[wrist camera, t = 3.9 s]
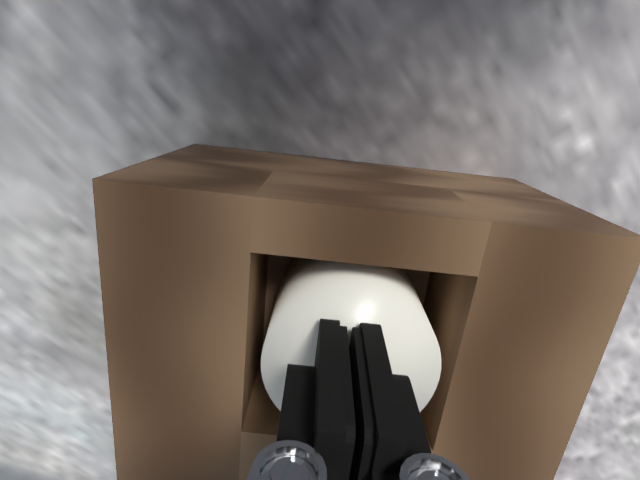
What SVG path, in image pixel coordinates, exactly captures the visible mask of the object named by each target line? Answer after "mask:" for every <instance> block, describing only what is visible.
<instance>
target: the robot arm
mask: <svg viewBox="0 0 640 480" xmlns="http://www.w3.org/2000/svg"><path fill="white" fill-rule="evenodd" d="M246 480H470V479H469V478H468V476H467V475H466V473H465V472H464V471H463V470H462V469H461V468H460V467H458V466H457V465H456V464H455V463H453V462H451V461H450V460H448V459H446V458H445V457H442V456H439V455H436V454H432V453H431V449H430V446H429V442H428V439H427V436H426V432H425V429H424V425H423V422H422V419H421V415H420V412H419V408H418V405H417V402H416V398H415V395H414V391H413V388H412V384H411V381H410V379H409V377H408V376H407V375H397V374H392V370H391V365H390V361H389V357H388V353H387V349H386V344H385V340H384V336H383V332H382V327H381V325H380V324H370V323H360V325H359V328H358V327H353V328H352V331H351V338H350V344H349V343H348V331H347V326H340V320H331V319H321V318H320V323H319V331H318V339H317V348H316V356H315V364H314V366H306V365H295V364H288V365H287V372H286V379H285V386H284V392H283V399H282V406H281V413H280V420H279V426H278V433H277V440H276V442H274V443H272V444H270V445H268V446H266V447H265V448H264V449H263V450H261V451H260V452H259V453H258V455H257V456H256V458H255V460H254V462H253V464H252V466H251V469H250V472H249V474H248V477H247V479H246Z"/></svg>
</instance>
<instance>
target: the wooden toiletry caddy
mask: <svg viewBox="0 0 640 480" xmlns="http://www.w3.org/2000/svg"><path fill="white" fill-rule="evenodd" d="M92 181H93V193H94V205H95V217H96V229H97V241H98V253H99V265H100V277H101V289H102V301H103V313H104V325H105V337H106V349H107V361H108V373H109V386H110V398H111V410H112V422H113V434H114V446H115V458H116V470H117V480H246V479H247V477H248V474H249V472H250V469H251V466H252V464H253V462H254V460H255V458H256V456H257V455H258V453H259V452H260V451H261V450H263V449H264V448H265V447H266V446H268V445H270V444H272V443H274V442H276V440H277V433H278V426H279V420H280V413H281V411H280V410H279V409H278V408H277V407H276V406H275V404H274V403H273V401H272V400H271V398H270V397H269V395H268V393H267V391H266V389H265V386H264V382H263V379H262V373H261V355H262V349H263V345H264V341H265V338H266V334H267V330H268V327H269V323H270V319H271V316H272V312H273V308H274V304H275V301H276V297H277V293H278V290H279V286H280V283H281V279H282V277H283V275H284V273H285V271H286V269H287V268H288V266H289V264H290V263H291V262H292V261H293V260H294V259H295V257H298V258H307V259H317V260H326V261H335V262H345V263H354V264H363V265H373V266H382V267H391V268H401V269H406V271H407V273H408V275H409V277H410V279H411V281H412V284H413V286H414V288H415V290H416V293H417V295H418V297H419V300H420V302H421V304H422V306H423V309H424V311H425V313H426V315H427V318H428V320H429V322H430V324H431V327H432V329H433V331H434V333H435V336H436V338H437V341H438V344H439V347H440V352H441V374H440V379H439V382H438V385H437V388H436V390H435V392H434V394H433V396H432V398H431V399H430V401H429V402H428V404H427V405H426V406H425V407H424V408H423V409H422V411H421V412H420V415H421V419H422V422H423V425H424V429H425V432H426V436H427V439H428V442H429V446H430V449H431V453H432V454H436V455H439V456H442V457H445V458H446V459H448V460H450V461H451V462H453V463H455V464H456V465H457V466H458V467H460V468H461V469H462V470H463V471H464V472H465V473H466V475H467V476H468V478H469V479H470V480H553V479H554V476H555V474H556V471H557V469H558V466H559V464H560V461H561V459H562V456H563V454H564V451H565V449H566V446H567V444H568V441H569V439H570V436H571V434H572V431H573V429H574V426H575V424H576V421H577V419H578V416H579V414H580V411H581V409H582V406H583V404H584V401H585V399H586V396H587V394H588V391H589V389H590V386H591V384H592V381H593V379H594V376H595V374H596V371H597V369H598V366H599V364H600V361H601V359H602V356H603V354H604V351H605V349H606V346H607V344H608V341H609V339H610V336H611V334H612V331H613V329H614V326H615V324H616V321H617V319H618V316H619V314H620V311H621V309H622V306H623V304H624V301H625V299H626V296H627V294H628V291H629V289H630V286H631V284H632V281H633V279H634V276H635V274H636V271H637V269H638V266H639V264H640V235H638V234H636V233H634V232H631V231H629V230H627V229H625V228H622V227H620V226H618V225H616V224H613V223H611V222H609V221H607V220H604V219H602V218H600V217H598V216H595V215H593V214H591V213H589V212H586V211H584V210H582V209H580V208H577V207H575V206H573V205H571V204H568V203H566V202H564V201H562V200H559V199H557V198H555V197H553V196H550V195H548V194H546V193H544V192H541V191H539V190H537V189H535V188H532V187H530V186H528V185H526V184H523V183H521V182H519V181H517V180H514V179H508V178H499V177H490V176H481V175H472V174H463V173H453V172H444V171H435V170H426V169H417V168H408V167H399V166H390V165H381V164H372V163H363V162H353V161H344V160H335V159H326V158H317V157H308V156H299V155H290V154H281V153H272V152H263V151H253V150H244V149H235V148H226V147H217V146H208V145H199V144H193V145H190V146H187V147H184V148H181V149H179V150H176V151H173V152H170V153H167V154H164V155H161V156H158V157H155V158H152V159H149V160H146V161H143V162H141V163H138V164H135V165H132V166H129V167H126V168H123V169H120V170H117V171H114V172H111V173H108V174H105V175H103V176H100V177H97V178H94V179H92Z"/></svg>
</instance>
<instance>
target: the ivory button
mask: <svg viewBox="0 0 640 480" xmlns="http://www.w3.org/2000/svg"><path fill="white" fill-rule="evenodd" d="M320 318H321V319H331V320H340V326H347V331H348V343H349V344H350V338H351V331H352V328H353V327H358V328H359V325H360V323H370V324H380V325H381V327H382V332H383V336H384V340H385V344H386V349H387V353H388V357H389V361H390V365H391V370H392V374H397V375H407V376H408V377H409V379H410V381H411V384H412V388H413V391H414V395H415V398H416V402H417V405H418V408H419V412H421V411H422V409H423V408H424V407H425V406H426V405H427V404H428V402H429V401H430V399H431V398H432V396H433V394H434V392H435V390H436V388H437V385H438V382H439V379H440V374H441V352H440V347H439V344H438V341H437V338H436V336H435V333H434V331H433V329H432V327H431V324H430V322H429V320H428V318H427V315H426V313H425V311H424V309H423V306H422V304H421V302H420V300H419V297H418V295H417V293H416V290H415V288H414V286H413V284H412V281H411V279H410V277H409V275H408V273H407V271H406V269H401V268H391V267H382V266H373V265H363V264H354V263H345V262H335V261H326V260H317V259H307V258H298V257H295V259H294V260H293V261H292V262H291V263H290V264H289V266H288V268H287V269H286V271H285V273H284V275H283V277H282V279H281V283H280V286H279V290H278V293H277V297H276V301H275V304H274V308H273V312H272V316H271V319H270V323H269V327H268V330H267V334H266V338H265V341H264V345H263V349H262V355H261V373H262V379H263V382H264V386H265V389H266V391H267V393H268V395H269V397H270V398H271V400H272V401H273V403H274V404H275V406H276V407H277V408H278V409H279V410H280V411H281V406H282V399H283V392H284V386H285V379H286V372H287V365H288V364H295V365H306V366H314V364H315V356H316V348H317V339H318V331H319V323H320Z"/></svg>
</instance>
